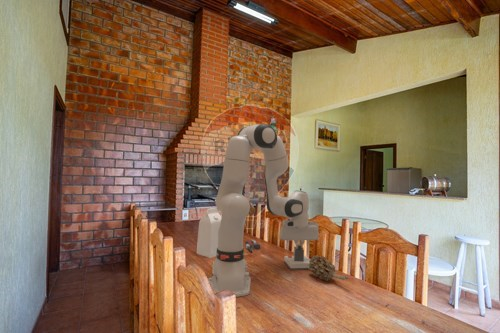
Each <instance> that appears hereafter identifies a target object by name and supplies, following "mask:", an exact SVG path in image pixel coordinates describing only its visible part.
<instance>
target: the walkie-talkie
mask: <svg viewBox="0 0 500 333" xmlns="http://www.w3.org/2000/svg"><path fill="white" fill-rule="evenodd" d="M245 248H246V250H248V251H249V252H251V253H253V250H260V249H261V244H260V243H259V242H258V241H257V240H256V239H247V240H246V241H245Z"/></svg>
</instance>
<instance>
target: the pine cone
mask: <svg viewBox="0 0 500 333" xmlns="http://www.w3.org/2000/svg"><path fill="white" fill-rule="evenodd" d="M309 263H310V264H309V265H308V266H309V269H308V270H309V272H310V273H312V275H313V276H314V277H318V279H320V280H321V281H322V280H324V281H325V282H329V280H332V278H333V279H334V278H335V279H337V280H342V281H347V280H348V279H349V276H348V275H345V276H343V275H342V276H340V275H337V274H336V265H335V264H333V263H332V261H331V260H329V259H327V257H326V256H323V255H316V254H315V255H313V256H312V257H311V258H310V261H309Z"/></svg>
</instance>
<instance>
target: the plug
mask: <svg viewBox="0 0 500 333" xmlns="http://www.w3.org/2000/svg"><path fill="white" fill-rule="evenodd" d="M293 248H294V249H293V256H294V261H303V262H304V256H305V250H304V247H303V246H302V249H296V246H294V247H293Z"/></svg>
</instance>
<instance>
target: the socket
mask: <svg viewBox="0 0 500 333" xmlns="http://www.w3.org/2000/svg"><path fill="white" fill-rule="evenodd" d="M283 260H284V261H283V262H284V263H285V264H286V266H287V267H288V268H289V269H290V271H293V270H295V271H301V270H309V266H308V265H309V264H310V263H309V261H310V260H311V258H309V257H308V256H307V255H304V262H303V261H294V255H284V256H283Z"/></svg>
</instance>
